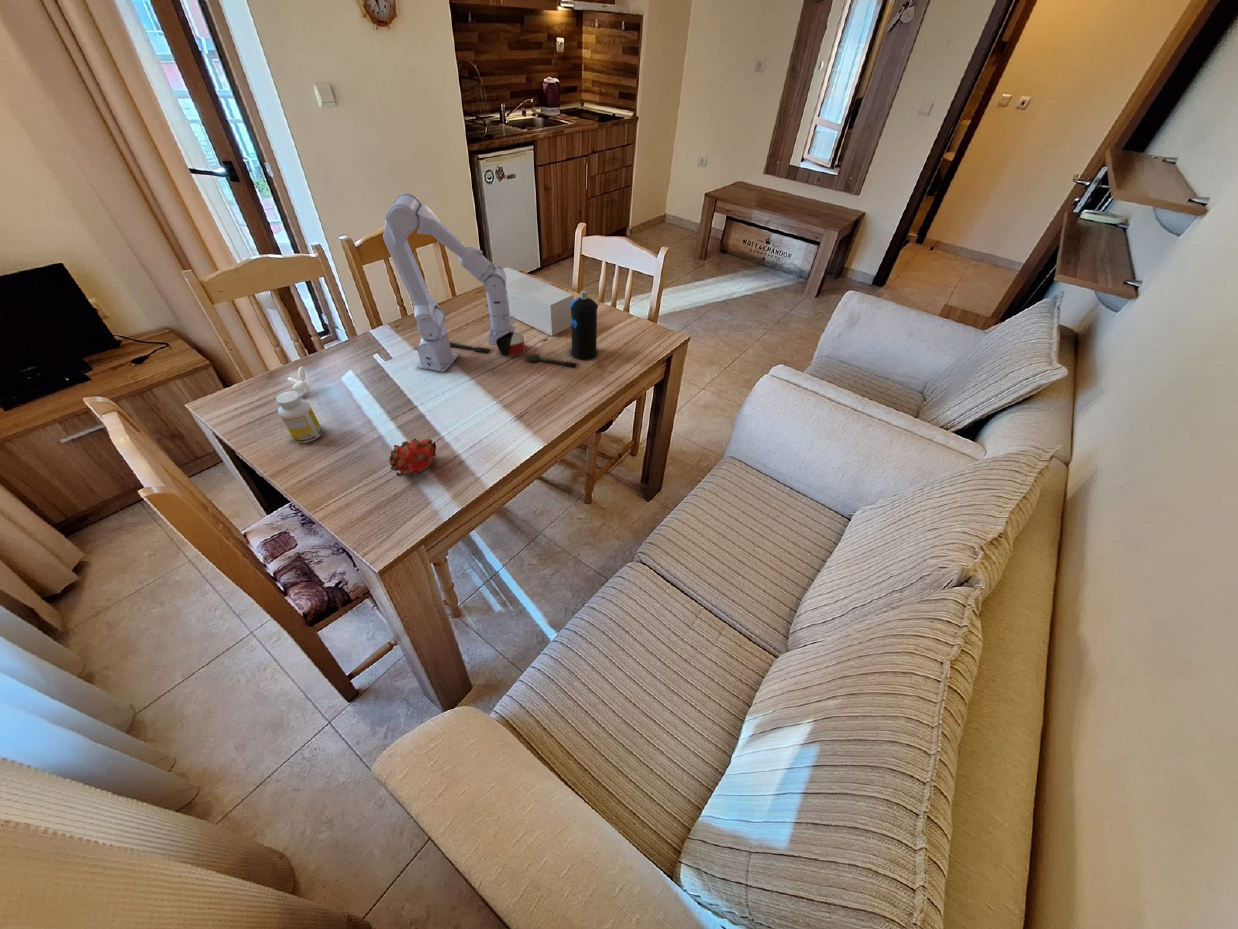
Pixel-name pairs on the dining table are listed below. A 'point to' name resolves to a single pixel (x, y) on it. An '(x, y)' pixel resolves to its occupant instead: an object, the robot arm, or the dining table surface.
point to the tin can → (516, 345)
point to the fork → (470, 348)
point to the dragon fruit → (412, 456)
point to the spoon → (550, 361)
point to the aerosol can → (584, 327)
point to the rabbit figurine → (299, 382)
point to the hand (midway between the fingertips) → (505, 354)
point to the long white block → (538, 302)
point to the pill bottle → (298, 417)
